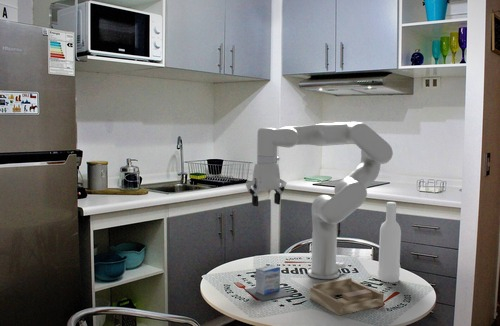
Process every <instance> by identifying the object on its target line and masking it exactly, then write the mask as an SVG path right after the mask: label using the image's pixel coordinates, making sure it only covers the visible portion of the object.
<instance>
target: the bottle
mask: <svg viewBox="0 0 500 326" xmlns="http://www.w3.org/2000/svg"><path fill="white" fill-rule="evenodd" d="M385 210H386V212H385V221H384V222H382V223H381V225H380V228H379V244H378V245H379V246H378V270H377V275H378V276H377V278H378V281H380V280H381V282H384V283H388V282H389V283H398V282H399V281H400V276H401V275H400V266H401V265H400V263H401V243H402V242H401V241H402V228H401V226H400V224H399V222H397V202H395V201H388V202H386V206H385Z"/></svg>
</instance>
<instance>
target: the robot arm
mask: <svg viewBox="0 0 500 326" xmlns="http://www.w3.org/2000/svg"><path fill="white" fill-rule="evenodd" d="M256 140H257V143H256V144H257V145H256V147H257V149H256V163H254V166H253V167H254V168H253V173H252V180H251V181H249V182H248V183H246V184H245V188H246V189H247V192H248V193H250V195H251V204H252V206H254V207H257V208H258V207H259V196H258V195H259V194H260V192H261V191H274V192H275V193H274V194H273V196H274V197H273V198H274V200H273V203H274V204H276V205H281V200H282V199H281V195H282V193H283V191H284V190H285V187H286V186H287V182H286V181H285V180H284V179H281V175H280V174H281V171H280V168H279V167H280V165H279V164H278V161H280V157H279V156H278V147H282V148H288V149H289V148H293V147H295V146H304V145H306V146H307V145H309V146H316V147H317V146H318V147H325V146H340V145H342V146H344V145H356V146H357V148H359V149H360V150H361V151H360V155H361V157H360V158H361V159H360V162H359V164H358V166H357V167H356V168H354V169H353V170H351V172H350V173H348V174H347V175H346V176H344V178H342V179H341V180H340V181H338V182H337V183H336V185H334V186H335V187H334V190H333V191H334V195H333V196H331V195H328V194H321V195H317V197H315V198H314V200H313V201H312V203H311V220H312V235H311V245H312V246H311V268H308V270H307V275H308V276H309V277H311V278H314V279H317V280H318V279H320V280H333V279H337V278H339V277H340V275H341V274H340V273H341V272H340V271H339V270H340V269H345V268H346V266H347V264H346V263H345V262H337V248H338V247H337V246H338V245H337V241H338V224H339V223H341V222H343V221H344V220H345V219H346V218H347V217H349V216H350V215H351V214H352V213H354V212H355V211H356V210H357V209H358V208H360V207H361V206H362V205H363V204H364V203H365V201H366V200H367V196H368V190H367V188H368V187H370V186H371V185H372V184H373V183H374V182H375V181H376V179H377V178H378V176H379V173H380V170H381V165H384V164H387V163H389V162H390V161H391V160H392V157H393V154H394V153H393V149H392V145H390V143H389V142H387V141H386V140H385V139H384V138H382V136H381V135H379V134H378V133H377V132H376V131H375V130H374V129H372V128H371V127H370V126H369V125H367V124H365V122H359V121H358V122H357V121H351V122H350V121H347V122H333V123H332V122H331V123H318V124H317V123H316V124H310V125H296V126H295V125H293V126H282V127H279V128H274V127H260V128H259V129H258V130H257V139H256Z"/></svg>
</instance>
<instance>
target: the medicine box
mask: <svg viewBox="0 0 500 326" xmlns="http://www.w3.org/2000/svg"><path fill="white" fill-rule="evenodd" d="M255 288H256V292H257V293H260V294H262V295H267V294H270V293H273V292H276V291H279V290H280V288H281V267H280V266H278V265H276V264H269V265H266V266H262V267H257V268H255Z"/></svg>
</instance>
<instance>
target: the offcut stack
mask: <svg viewBox="0 0 500 326" xmlns="http://www.w3.org/2000/svg"><path fill="white" fill-rule="evenodd" d="M336 299H337V300H339V301H341V302H343V306H346V305H350V304H355V303H360V302H364V301H369V300H373V299H372V292H371V291H369V290H367V289H364V290H359V291H354V292H349V293H344V294H341V298H336Z"/></svg>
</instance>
